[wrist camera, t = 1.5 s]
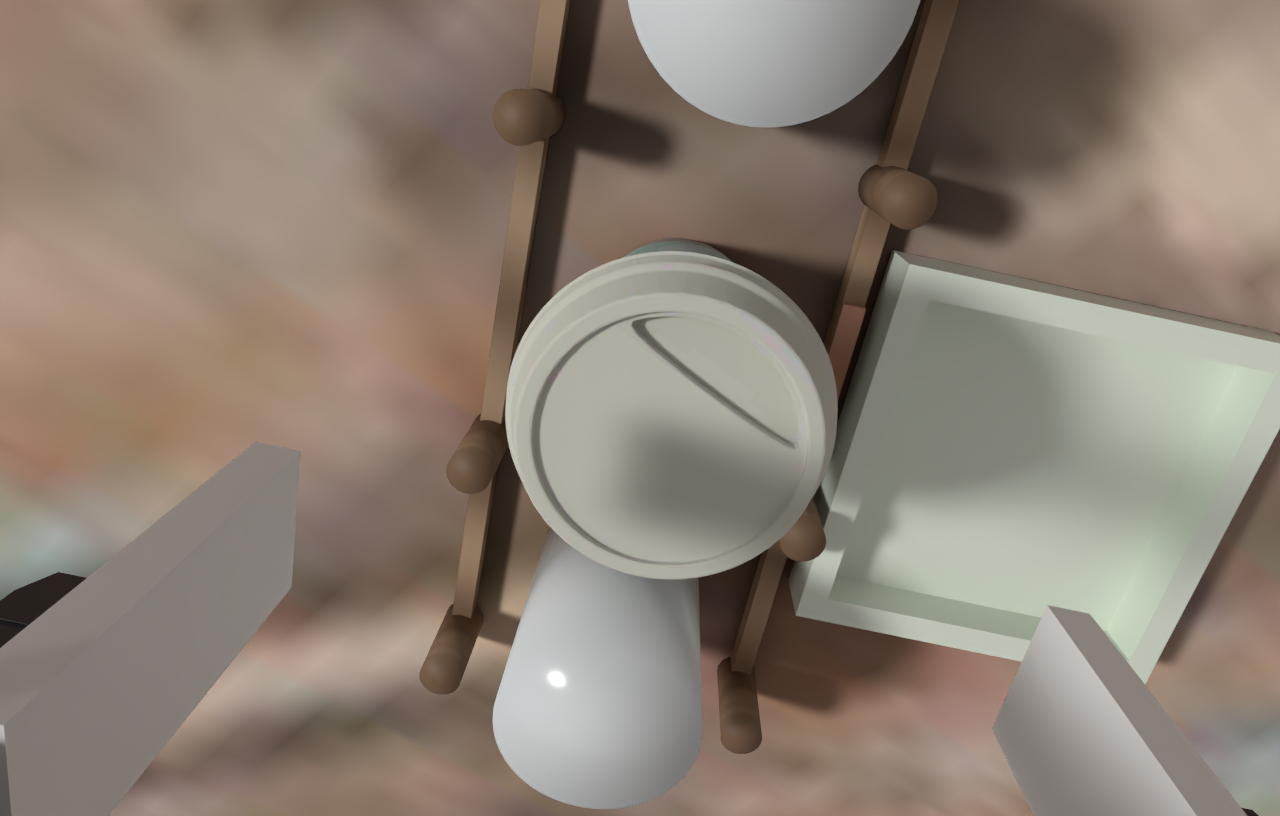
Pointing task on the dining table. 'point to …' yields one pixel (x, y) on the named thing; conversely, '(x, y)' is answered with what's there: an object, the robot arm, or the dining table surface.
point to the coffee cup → (671, 412)
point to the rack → (480, 452)
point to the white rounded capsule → (601, 683)
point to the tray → (1033, 461)
